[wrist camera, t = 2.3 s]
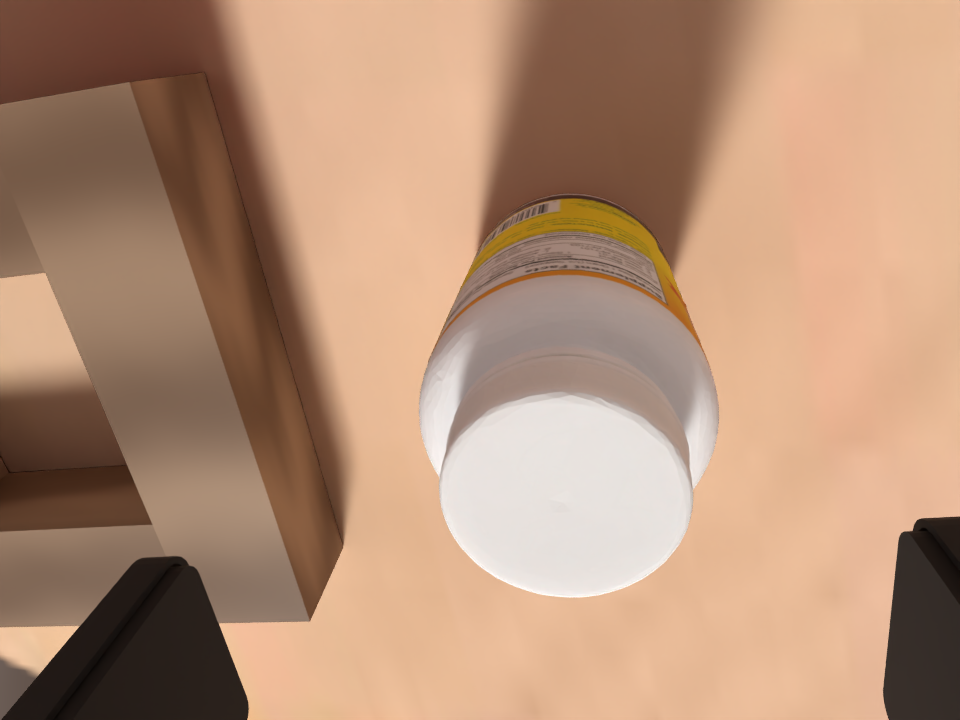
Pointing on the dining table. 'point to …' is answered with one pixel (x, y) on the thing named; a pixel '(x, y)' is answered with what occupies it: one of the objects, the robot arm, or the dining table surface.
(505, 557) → the supplement bottle
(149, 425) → the square bottle holder
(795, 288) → the dining table surface
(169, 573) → the robot arm
